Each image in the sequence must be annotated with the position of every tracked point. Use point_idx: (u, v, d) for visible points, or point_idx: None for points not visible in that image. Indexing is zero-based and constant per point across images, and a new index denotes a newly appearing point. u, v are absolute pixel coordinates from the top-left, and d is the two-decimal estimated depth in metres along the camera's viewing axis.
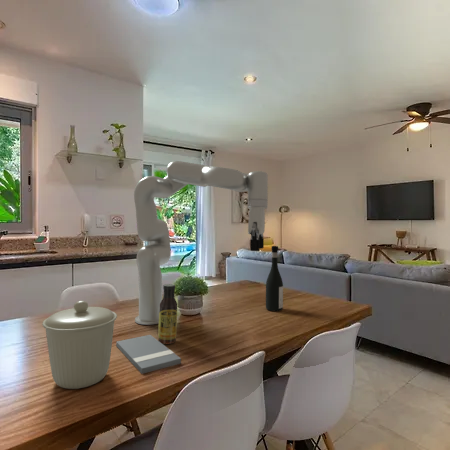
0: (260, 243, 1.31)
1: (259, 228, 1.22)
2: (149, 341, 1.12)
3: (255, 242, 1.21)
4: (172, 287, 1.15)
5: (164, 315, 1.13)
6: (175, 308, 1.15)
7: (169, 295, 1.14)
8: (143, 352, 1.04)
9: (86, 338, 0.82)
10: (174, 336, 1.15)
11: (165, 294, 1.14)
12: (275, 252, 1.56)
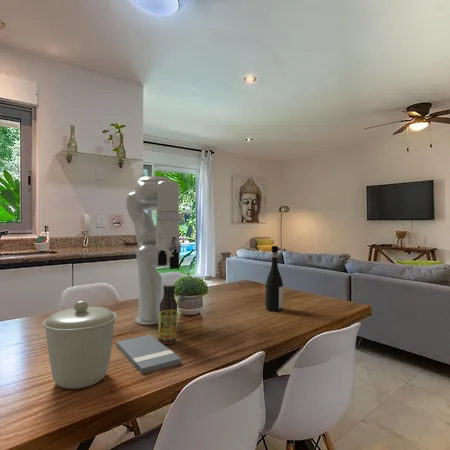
0: (164, 259, 1.19)
1: None
2: (149, 341, 1.12)
3: (176, 259, 1.11)
4: (172, 287, 1.15)
5: (164, 315, 1.13)
6: (175, 308, 1.15)
7: (169, 295, 1.14)
8: (143, 352, 1.04)
9: (86, 338, 0.82)
10: (174, 336, 1.15)
11: (165, 294, 1.14)
12: (275, 252, 1.56)
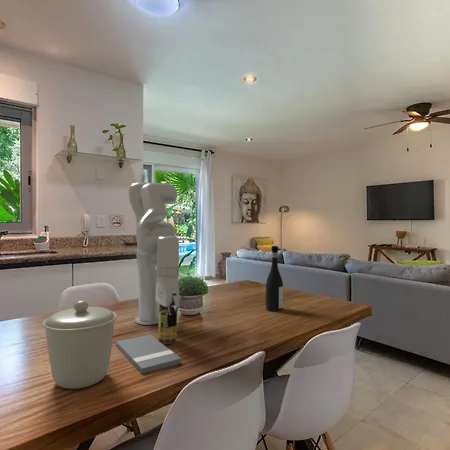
0: None
1: (178, 299, 1.13)
2: (149, 341, 1.12)
3: (174, 317, 1.13)
4: None
5: (164, 315, 1.13)
6: None
7: None
8: (143, 352, 1.04)
9: (86, 338, 0.82)
10: (174, 336, 1.15)
11: None
12: (275, 252, 1.56)
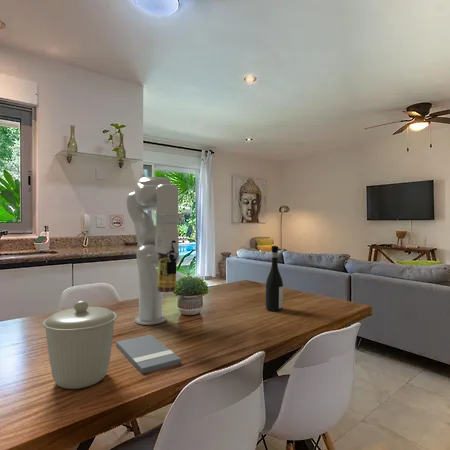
0: None
1: (177, 247, 1.12)
2: (149, 341, 1.12)
3: (173, 264, 1.12)
4: None
5: (163, 262, 1.13)
6: None
7: None
8: (143, 352, 1.04)
9: (86, 338, 0.82)
10: (173, 285, 1.14)
11: None
12: (275, 252, 1.56)
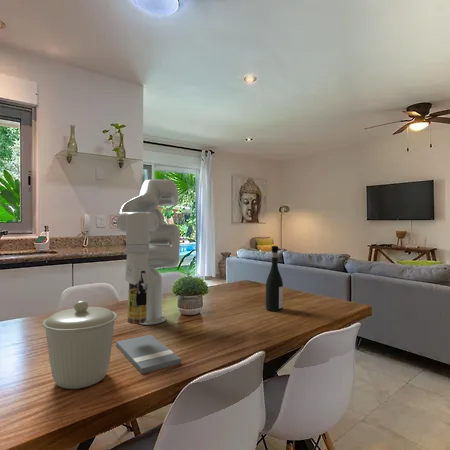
0: None
1: (147, 277, 1.09)
2: (149, 341, 1.12)
3: (143, 295, 1.08)
4: None
5: (132, 293, 1.09)
6: None
7: None
8: (143, 352, 1.04)
9: (86, 338, 0.82)
10: (144, 316, 1.10)
11: None
12: (275, 252, 1.56)
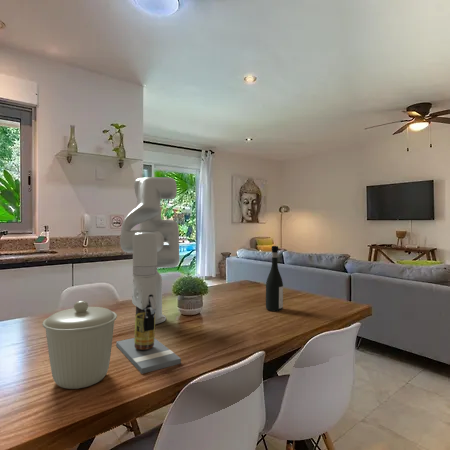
0: None
1: (155, 301, 1.03)
2: None
3: (151, 320, 1.03)
4: None
5: (140, 318, 1.04)
6: None
7: None
8: (143, 352, 1.04)
9: (86, 338, 0.82)
10: (151, 341, 1.05)
11: None
12: (275, 252, 1.56)
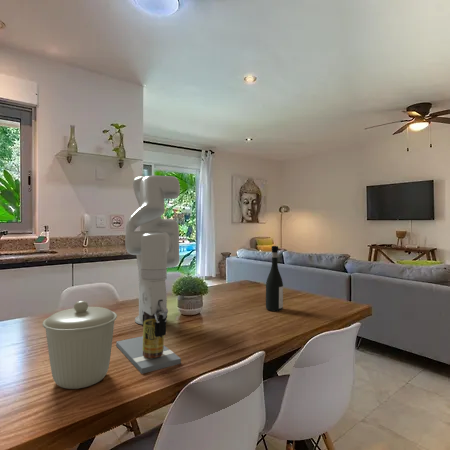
0: None
1: (165, 306, 0.97)
2: None
3: (163, 325, 0.96)
4: None
5: (148, 324, 0.98)
6: None
7: None
8: None
9: (86, 338, 0.82)
10: (161, 349, 0.99)
11: None
12: (275, 252, 1.56)
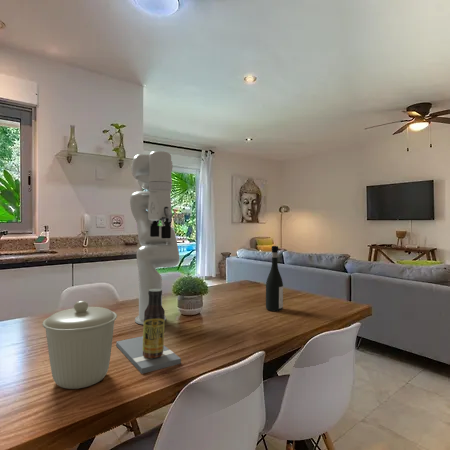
0: (156, 231, 1.20)
1: None
2: None
3: (168, 229, 1.11)
4: (158, 292, 0.99)
5: (148, 324, 0.98)
6: (162, 317, 1.00)
7: (155, 302, 0.99)
8: None
9: (86, 338, 0.82)
10: (161, 349, 0.99)
11: (151, 301, 0.99)
12: (275, 252, 1.56)
